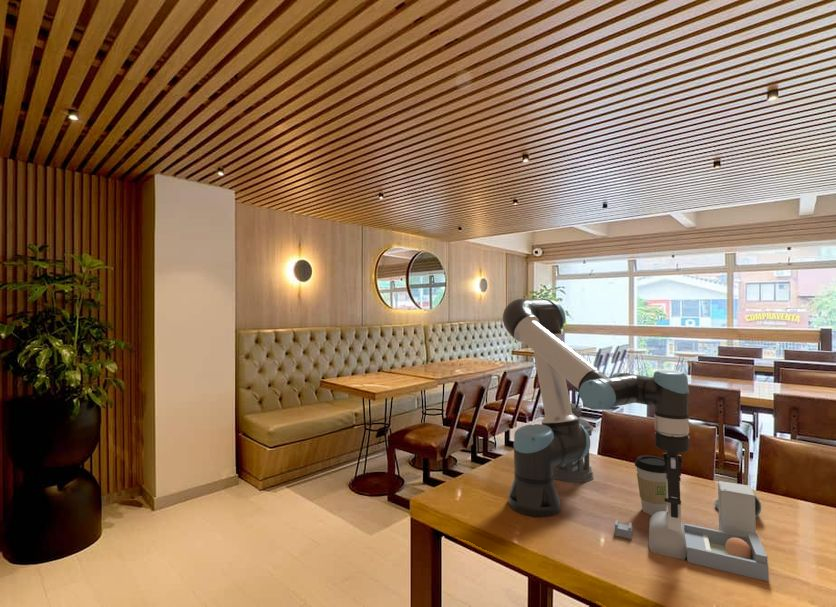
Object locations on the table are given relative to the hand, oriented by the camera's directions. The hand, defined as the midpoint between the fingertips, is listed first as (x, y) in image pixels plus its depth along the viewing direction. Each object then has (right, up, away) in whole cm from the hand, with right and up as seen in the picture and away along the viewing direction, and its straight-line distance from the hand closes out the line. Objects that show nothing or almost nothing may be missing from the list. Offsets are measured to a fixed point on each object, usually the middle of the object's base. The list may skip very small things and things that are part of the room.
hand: (673, 517), depth 106 cm
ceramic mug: (+29, -8, +17) cm, 35 cm away
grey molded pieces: (+2, -9, -1) cm, 9 cm away
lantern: (-9, -8, +47) cm, 49 cm away
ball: (+11, -4, -7) cm, 14 cm away
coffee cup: (+5, -8, +18) cm, 20 cm away
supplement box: (+19, -7, +4) cm, 21 cm away
